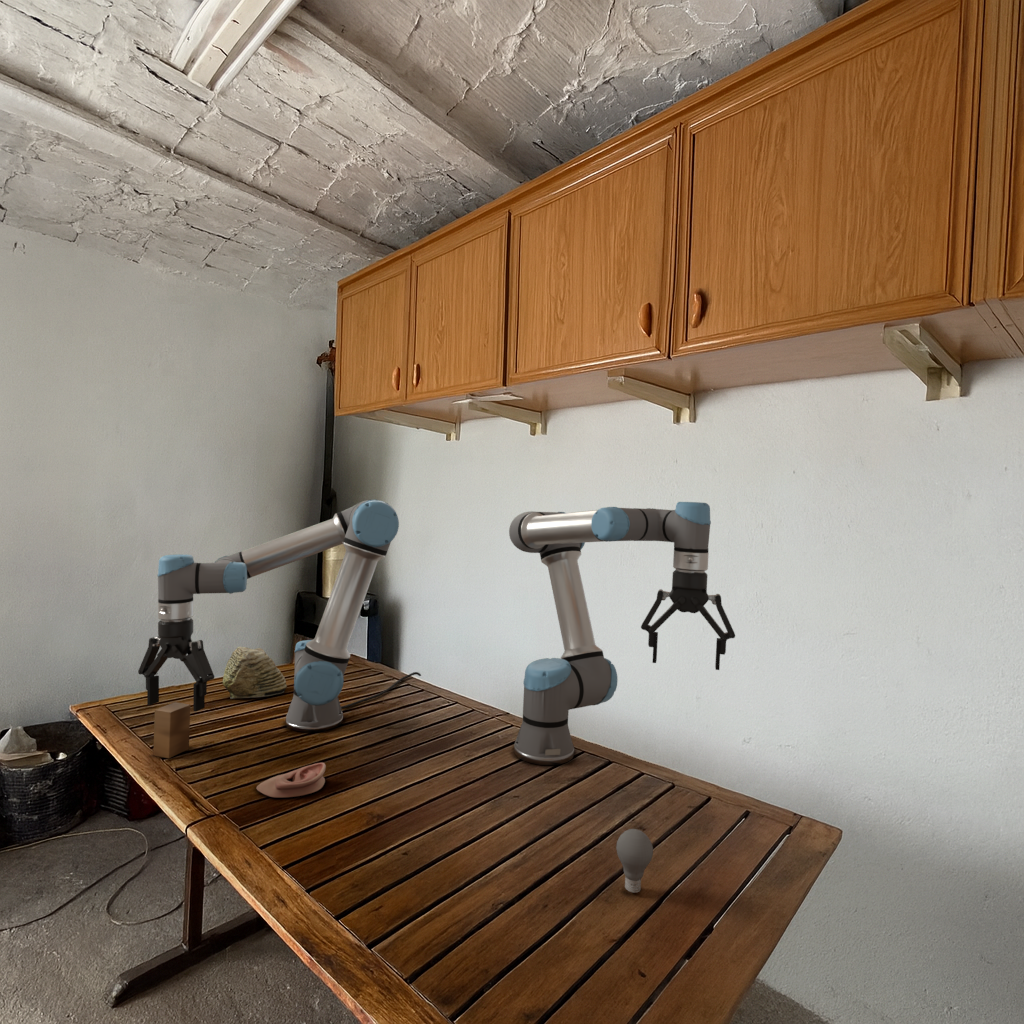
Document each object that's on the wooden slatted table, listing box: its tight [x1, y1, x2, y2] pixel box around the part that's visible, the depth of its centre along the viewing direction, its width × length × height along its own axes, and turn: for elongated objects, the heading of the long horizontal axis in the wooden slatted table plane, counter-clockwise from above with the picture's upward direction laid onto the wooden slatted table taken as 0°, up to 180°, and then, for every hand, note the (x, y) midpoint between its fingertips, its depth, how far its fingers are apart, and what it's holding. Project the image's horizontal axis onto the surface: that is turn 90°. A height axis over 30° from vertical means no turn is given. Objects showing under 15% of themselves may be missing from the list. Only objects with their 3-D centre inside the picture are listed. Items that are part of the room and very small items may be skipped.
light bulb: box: [615, 828, 654, 894], centre depth 106 cm, size 6×6×10 cm
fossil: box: [222, 646, 288, 699], centre depth 198 cm, size 9×18×15 cm, turn 132°
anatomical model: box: [256, 762, 327, 799], centre depth 137 cm, size 13×4×12 cm
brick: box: [152, 701, 191, 759], centre depth 153 cm, size 6×5×11 cm
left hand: (175, 706), depth 153 cm, fingers open, 13 cm apart
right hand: (685, 665), depth 142 cm, fingers open, 13 cm apart
